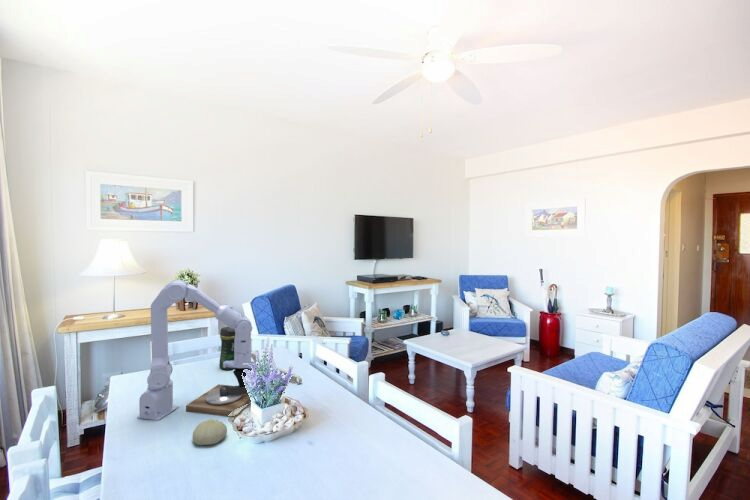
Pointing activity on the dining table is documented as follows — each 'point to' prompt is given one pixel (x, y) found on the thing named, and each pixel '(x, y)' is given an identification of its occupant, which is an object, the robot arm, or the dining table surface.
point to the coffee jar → (227, 346)
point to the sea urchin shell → (209, 432)
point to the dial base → (222, 410)
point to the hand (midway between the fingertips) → (242, 388)
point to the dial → (226, 395)
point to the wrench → (293, 378)
